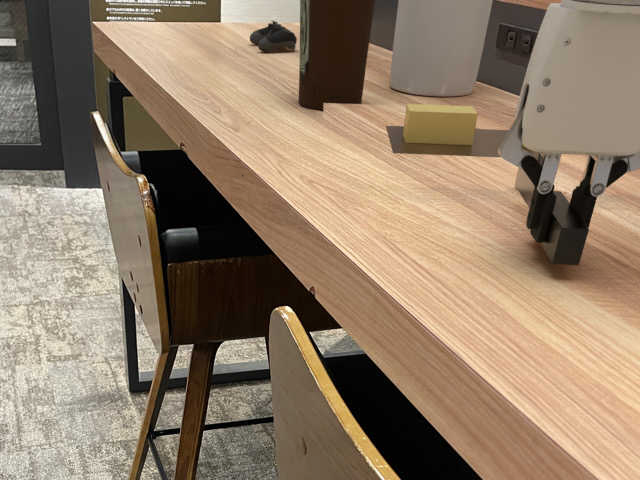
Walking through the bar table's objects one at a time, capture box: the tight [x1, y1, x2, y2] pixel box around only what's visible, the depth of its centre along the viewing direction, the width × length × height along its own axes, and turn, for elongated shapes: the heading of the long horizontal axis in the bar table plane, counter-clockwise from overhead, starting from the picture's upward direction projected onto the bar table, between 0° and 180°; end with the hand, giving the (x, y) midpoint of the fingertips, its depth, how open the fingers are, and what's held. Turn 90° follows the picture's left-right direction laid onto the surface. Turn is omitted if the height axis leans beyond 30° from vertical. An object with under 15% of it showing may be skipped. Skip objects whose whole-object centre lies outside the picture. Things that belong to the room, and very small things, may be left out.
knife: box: [514, 167, 590, 266], centre depth 75 cm, size 22×2×3 cm, turn 176°
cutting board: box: [385, 125, 538, 158], centre depth 100 cm, size 18×14×2 cm
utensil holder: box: [389, 0, 494, 98], centre depth 128 cm, size 15×15×18 cm
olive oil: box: [298, 0, 376, 111], centre depth 115 cm, size 11×11×25 cm
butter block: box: [403, 103, 479, 145], centre depth 99 cm, size 8×4×4 cm, turn 86°
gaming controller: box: [249, 20, 298, 53], centre depth 163 cm, size 12×8×5 cm, turn 9°
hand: (553, 236), depth 71 cm, fingers closed on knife, 2 cm apart
